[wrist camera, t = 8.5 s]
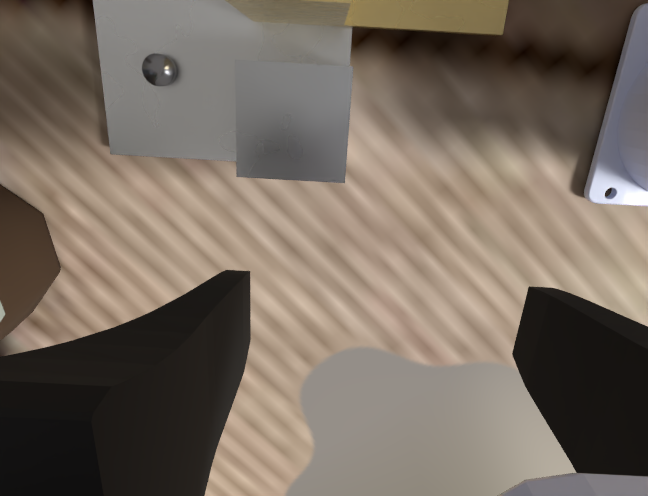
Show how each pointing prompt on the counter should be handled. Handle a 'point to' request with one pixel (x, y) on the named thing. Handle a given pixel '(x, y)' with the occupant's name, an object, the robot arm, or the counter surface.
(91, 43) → the counter surface
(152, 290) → the counter surface
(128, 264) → the counter surface
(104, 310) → the counter surface
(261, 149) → the fixed leaf
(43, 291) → the beer bottle
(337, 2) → the pale gold block
